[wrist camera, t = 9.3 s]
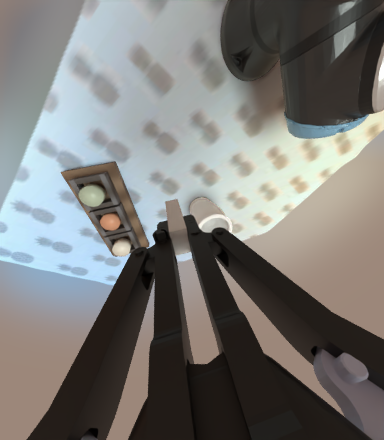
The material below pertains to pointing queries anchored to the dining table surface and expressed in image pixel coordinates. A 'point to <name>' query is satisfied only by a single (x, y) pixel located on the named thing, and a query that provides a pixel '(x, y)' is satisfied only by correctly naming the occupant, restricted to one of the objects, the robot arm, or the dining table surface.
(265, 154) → the dining table surface
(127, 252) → the button cream
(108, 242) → the button board
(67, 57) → the dining table surface
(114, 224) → the button terracotta
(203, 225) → the jar
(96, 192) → the button sage
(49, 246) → the dining table surface
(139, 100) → the dining table surface
